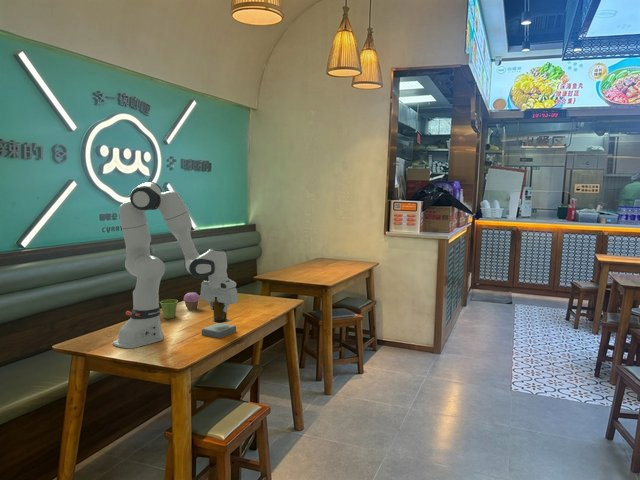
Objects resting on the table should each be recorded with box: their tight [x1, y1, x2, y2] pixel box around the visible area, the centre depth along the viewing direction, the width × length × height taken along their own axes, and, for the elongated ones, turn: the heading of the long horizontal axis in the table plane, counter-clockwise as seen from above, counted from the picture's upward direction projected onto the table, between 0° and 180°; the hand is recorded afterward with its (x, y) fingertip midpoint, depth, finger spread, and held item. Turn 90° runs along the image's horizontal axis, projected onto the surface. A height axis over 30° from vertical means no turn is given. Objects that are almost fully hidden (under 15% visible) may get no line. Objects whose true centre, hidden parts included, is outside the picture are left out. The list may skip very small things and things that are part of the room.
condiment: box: [210, 297, 232, 324], centre depth 222 cm, size 7×8×12 cm
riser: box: [201, 322, 237, 339], centre depth 223 cm, size 12×11×3 cm
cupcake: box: [183, 292, 201, 311], centre depth 266 cm, size 9×9×10 cm
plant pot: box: [159, 299, 179, 319], centre depth 250 cm, size 9×9×9 cm
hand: (219, 310), depth 222 cm, fingers closed on condiment, 6 cm apart
